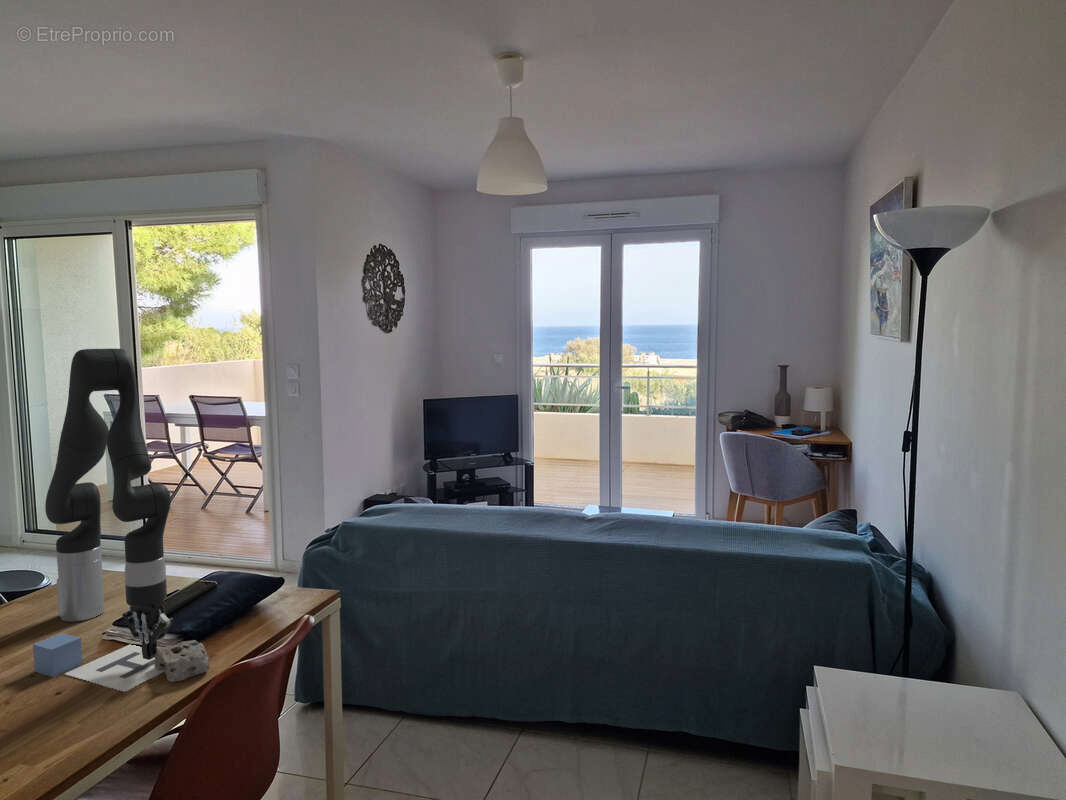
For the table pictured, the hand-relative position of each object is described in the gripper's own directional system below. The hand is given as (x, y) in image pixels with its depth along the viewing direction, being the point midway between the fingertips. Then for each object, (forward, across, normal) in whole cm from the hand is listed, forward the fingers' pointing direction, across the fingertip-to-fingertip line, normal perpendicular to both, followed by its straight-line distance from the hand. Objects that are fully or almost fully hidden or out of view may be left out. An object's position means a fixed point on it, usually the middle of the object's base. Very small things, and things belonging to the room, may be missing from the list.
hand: (149, 657), depth 146 cm
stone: (+2, -9, -1) cm, 9 cm away
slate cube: (+2, +16, +8) cm, 19 cm away
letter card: (+2, +4, +2) cm, 4 cm away
